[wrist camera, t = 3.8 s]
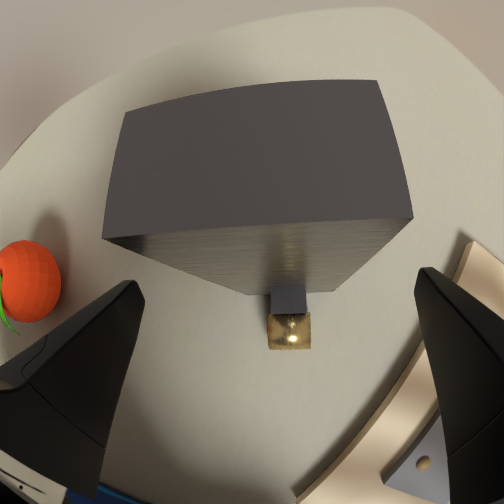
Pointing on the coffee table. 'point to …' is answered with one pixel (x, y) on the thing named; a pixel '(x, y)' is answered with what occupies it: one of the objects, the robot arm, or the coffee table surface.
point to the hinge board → (407, 422)
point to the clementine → (28, 282)
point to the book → (101, 497)
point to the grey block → (262, 190)
